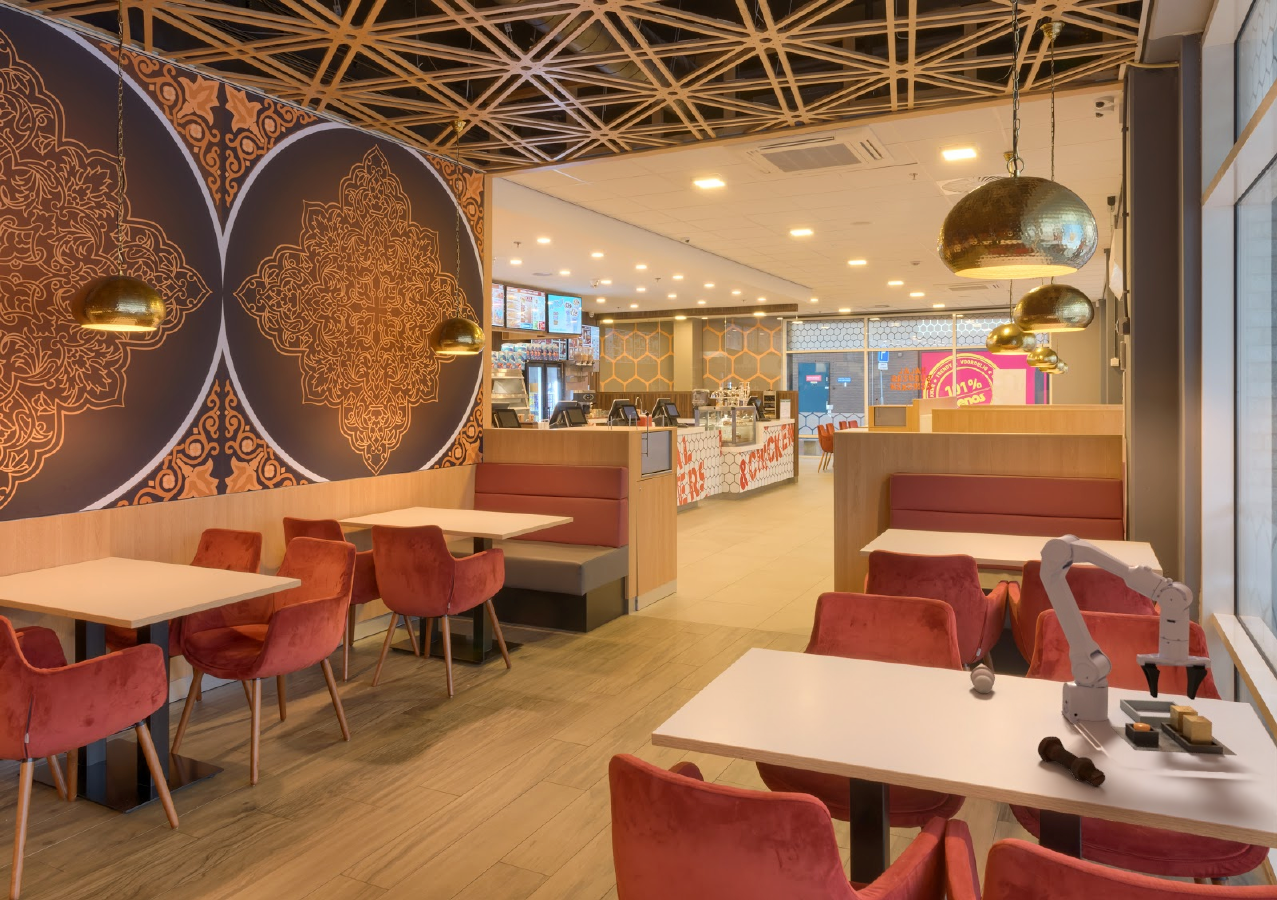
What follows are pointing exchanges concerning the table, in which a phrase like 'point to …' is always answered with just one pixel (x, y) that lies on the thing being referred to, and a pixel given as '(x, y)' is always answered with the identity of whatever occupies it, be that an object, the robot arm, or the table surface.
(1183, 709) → the billet
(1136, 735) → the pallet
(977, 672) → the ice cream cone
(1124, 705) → the tote
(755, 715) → the table surface
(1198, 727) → the billet
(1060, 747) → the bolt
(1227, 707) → the table surface
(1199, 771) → the table surface
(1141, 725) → the button
